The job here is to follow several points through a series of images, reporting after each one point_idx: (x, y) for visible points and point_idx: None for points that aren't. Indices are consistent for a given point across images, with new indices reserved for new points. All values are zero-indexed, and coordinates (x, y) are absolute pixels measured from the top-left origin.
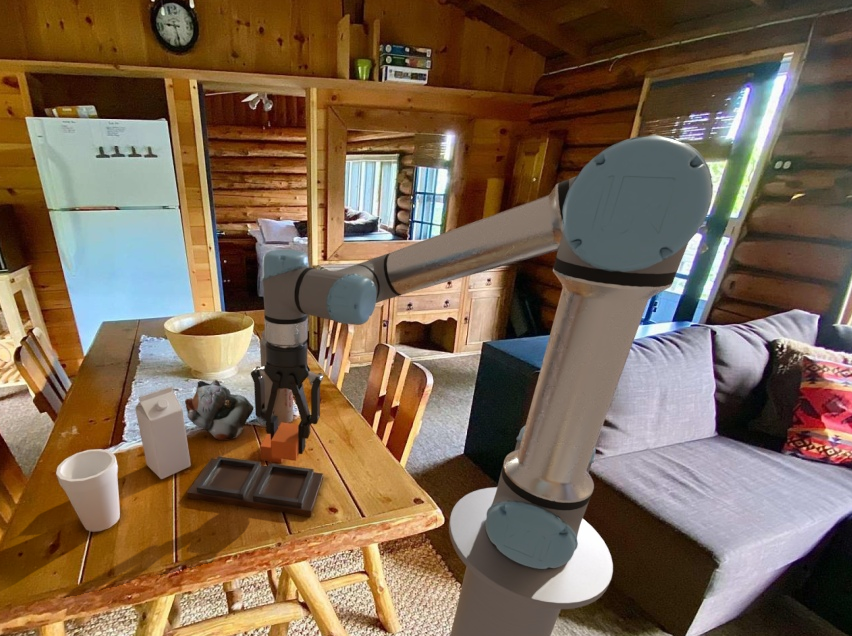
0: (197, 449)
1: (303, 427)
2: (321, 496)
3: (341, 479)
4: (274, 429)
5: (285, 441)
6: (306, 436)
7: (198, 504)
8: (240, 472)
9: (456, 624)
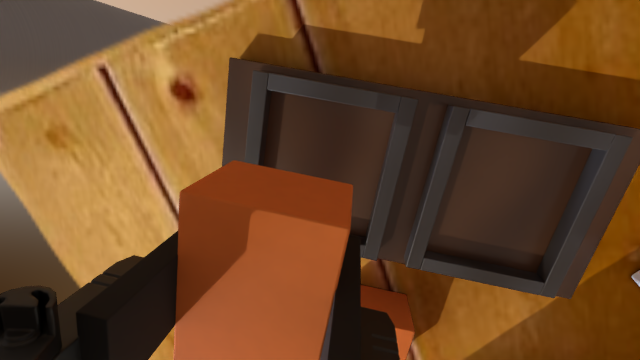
0: (608, 349)
1: (47, 292)
2: (221, 146)
3: (178, 214)
4: (330, 325)
5: (249, 217)
6: (129, 265)
7: (593, 99)
8: (467, 231)
9: (103, 49)
